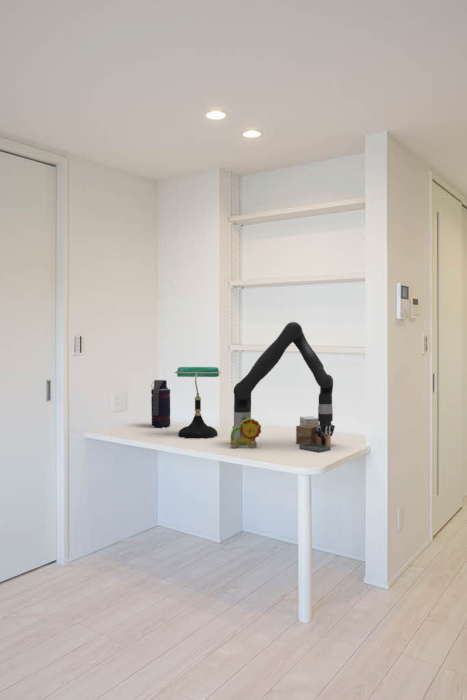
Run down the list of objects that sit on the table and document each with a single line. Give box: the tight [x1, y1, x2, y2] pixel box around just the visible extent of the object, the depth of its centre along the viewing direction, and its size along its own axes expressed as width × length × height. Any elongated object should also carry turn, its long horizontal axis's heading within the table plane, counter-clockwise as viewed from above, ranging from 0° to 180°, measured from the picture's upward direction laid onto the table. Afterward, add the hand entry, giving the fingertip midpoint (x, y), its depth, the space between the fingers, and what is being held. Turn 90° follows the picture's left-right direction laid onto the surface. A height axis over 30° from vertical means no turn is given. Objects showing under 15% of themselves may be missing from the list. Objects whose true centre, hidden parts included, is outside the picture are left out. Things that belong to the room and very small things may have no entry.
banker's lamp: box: [174, 366, 221, 439], centre depth 335 cm, size 26×23×40 cm
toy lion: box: [230, 418, 262, 449], centre depth 299 cm, size 16×5×15 cm, turn 90°
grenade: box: [150, 379, 171, 428], centre depth 367 cm, size 14×12×30 cm
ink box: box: [299, 415, 320, 426], centre depth 327 cm, size 9×9×12 cm
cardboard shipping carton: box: [295, 424, 319, 445], centre depth 309 cm, size 12×10×10 cm
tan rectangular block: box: [316, 433, 332, 448], centre depth 304 cm, size 2×10×6 cm, turn 43°
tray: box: [298, 443, 331, 453], centre depth 293 cm, size 9×13×2 cm
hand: (325, 444), depth 302 cm, fingers closed on tan rectangular block, 2 cm apart
